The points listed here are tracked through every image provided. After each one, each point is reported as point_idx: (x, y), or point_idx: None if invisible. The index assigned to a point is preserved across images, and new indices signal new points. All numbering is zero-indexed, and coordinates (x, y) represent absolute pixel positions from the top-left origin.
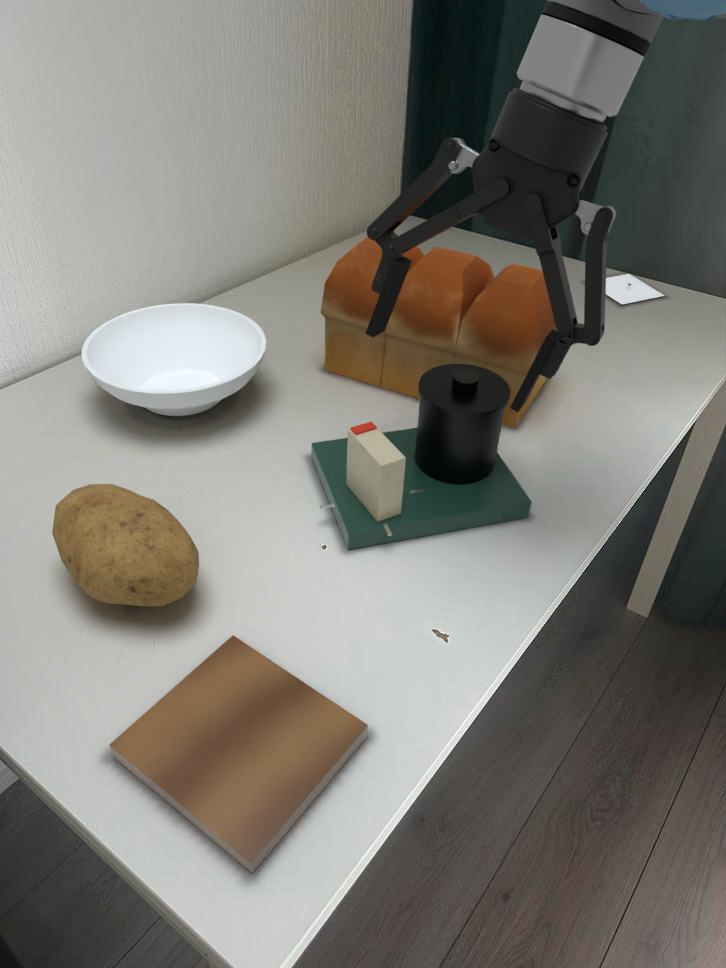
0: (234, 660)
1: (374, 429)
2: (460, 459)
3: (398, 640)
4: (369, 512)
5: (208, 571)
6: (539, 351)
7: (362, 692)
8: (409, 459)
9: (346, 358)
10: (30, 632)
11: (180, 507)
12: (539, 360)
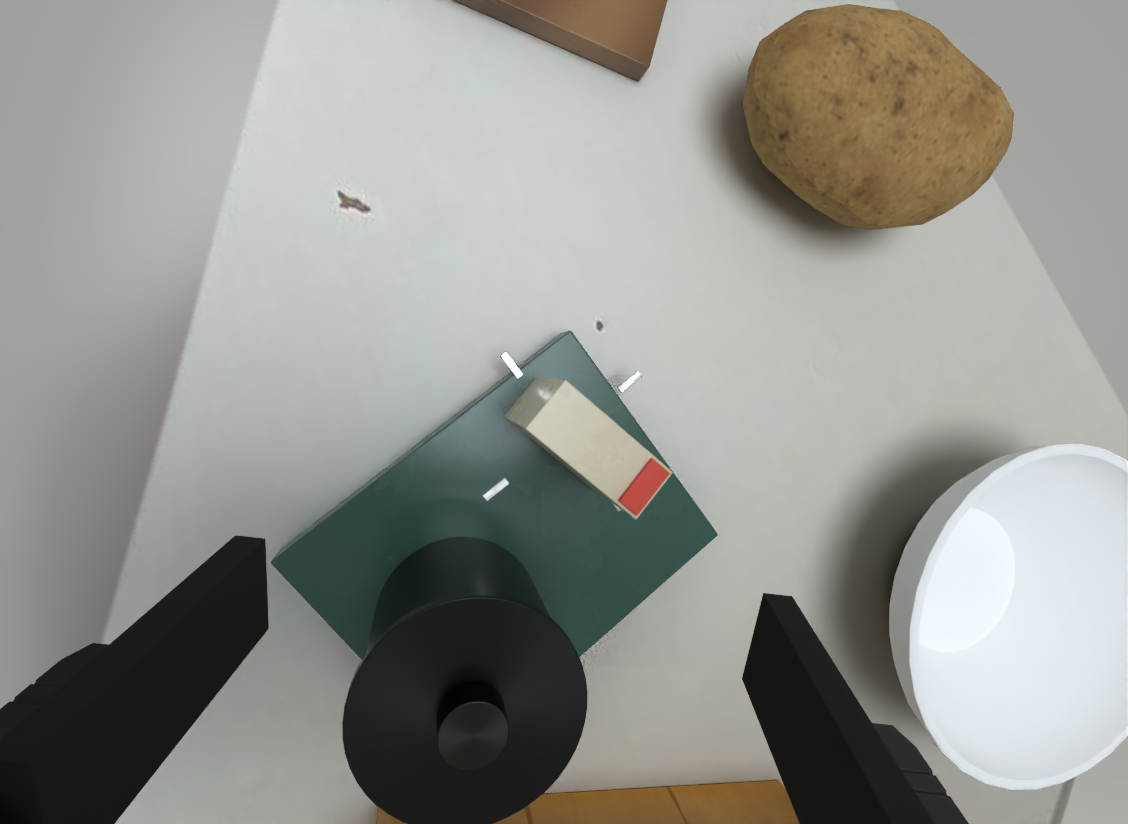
0: (626, 19)
1: (621, 495)
2: (431, 562)
3: (415, 170)
4: None
5: (735, 211)
6: (99, 695)
7: (433, 53)
8: (539, 573)
9: (758, 812)
10: None
11: (830, 325)
12: (108, 663)
